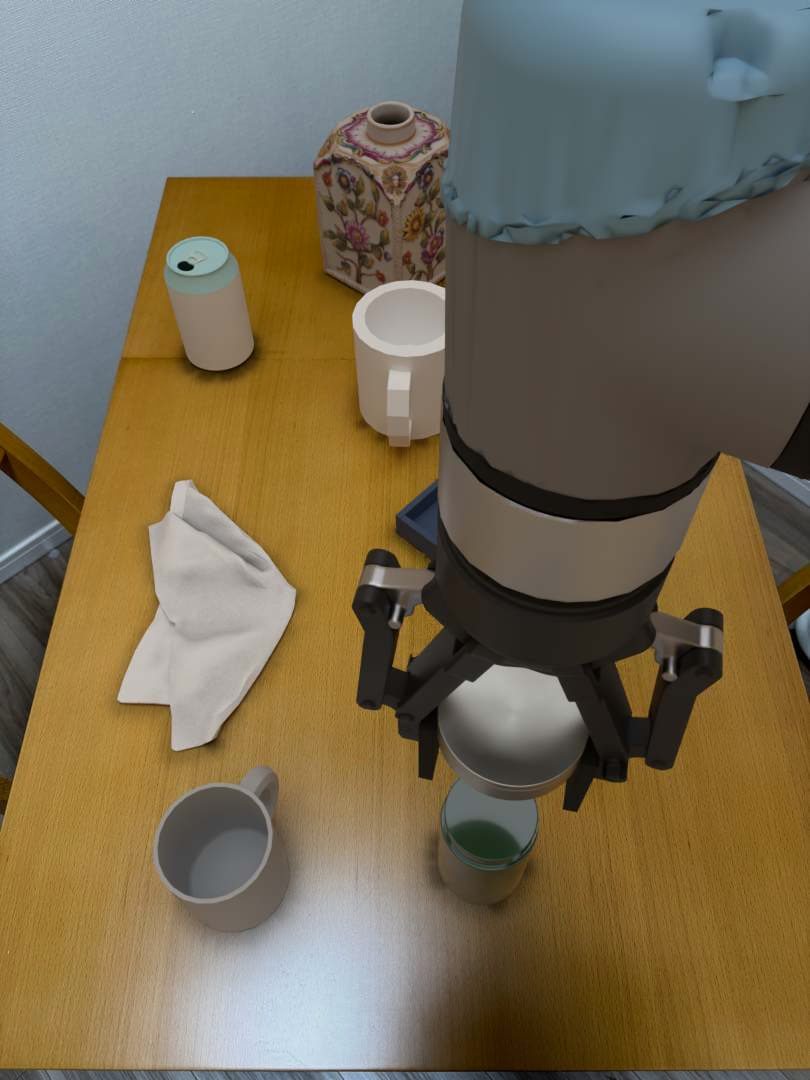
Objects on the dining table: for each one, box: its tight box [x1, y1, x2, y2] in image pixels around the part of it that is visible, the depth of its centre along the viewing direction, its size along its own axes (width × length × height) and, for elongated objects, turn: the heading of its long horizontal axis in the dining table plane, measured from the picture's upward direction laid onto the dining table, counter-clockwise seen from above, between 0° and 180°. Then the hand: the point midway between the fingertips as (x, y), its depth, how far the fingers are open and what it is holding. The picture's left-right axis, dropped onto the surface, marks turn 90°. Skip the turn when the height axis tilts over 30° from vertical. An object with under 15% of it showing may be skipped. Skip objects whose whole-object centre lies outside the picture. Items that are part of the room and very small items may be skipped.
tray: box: [395, 478, 439, 560], centre depth 74 cm, size 13×11×3 cm
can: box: [163, 235, 255, 371], centre depth 85 cm, size 7×7×12 cm
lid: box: [437, 665, 589, 801], centre depth 40 cm, size 7×7×2 cm
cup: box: [152, 765, 290, 933], centre depth 56 cm, size 7×10×9 cm
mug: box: [351, 280, 445, 448], centre depth 80 cm, size 14×10×11 cm
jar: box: [437, 776, 540, 906], centre depth 55 cm, size 6×6×10 cm
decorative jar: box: [312, 100, 450, 296], centre depth 90 cm, size 12×12×18 cm
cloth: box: [116, 479, 297, 753], centre depth 71 cm, size 26×14×2 cm, turn 0°
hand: (501, 770), depth 45 cm, fingers closed on lid, 7 cm apart
